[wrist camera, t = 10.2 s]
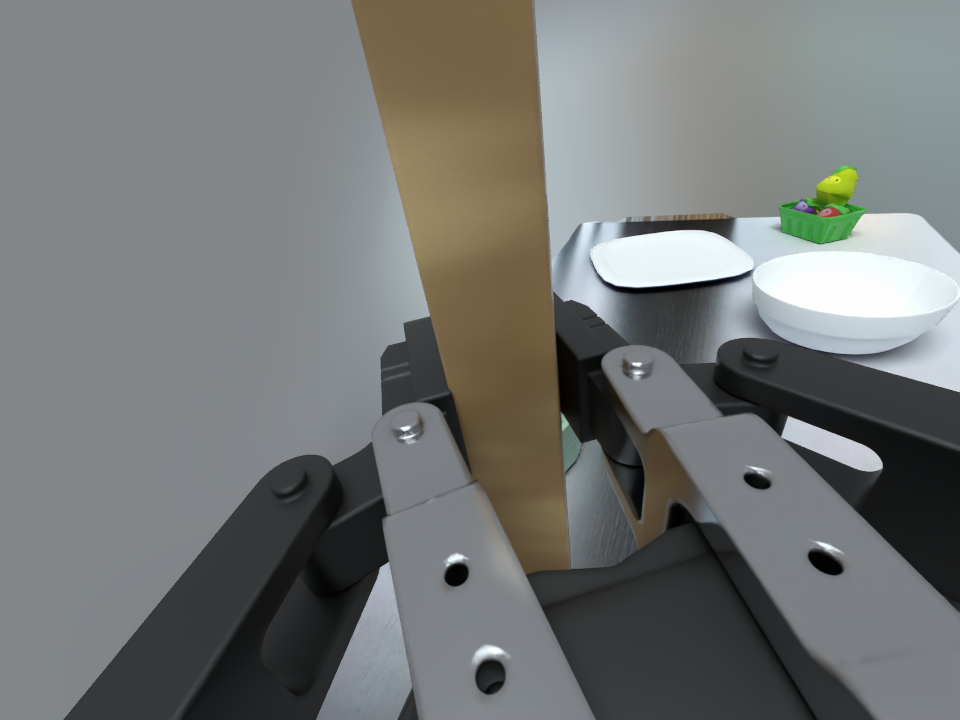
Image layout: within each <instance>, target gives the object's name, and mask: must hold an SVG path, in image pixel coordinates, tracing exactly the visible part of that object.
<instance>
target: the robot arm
mask: <svg viewBox="0 0 960 720" xmlns="http://www.w3.org/2000/svg"><path fill="white" fill-rule="evenodd" d="M553 296H554V311H555V327H556V343H557V358H558V373H559V389H560V404H561V412H562V414H563V415H564V417H565V418H566V420H567V422H568V423H569V425H570V426H571V428H572V430H573V431H574V433H575V434H576V436H577V438H578V439H579V441H580V442H581V443H584V442H588V441H591V440H595V439H597V441H598V442H599V443H600V445H601V462H602V465H603V467H604V469H605V472H606V474H607V476H608V478H609V480H610V483H611V485H612V487H613V489H614V491H615V494H616V496H617V498H618V500H619V503H620V505H621V507H622V509H623V511H624V514H625V516H626V518H627V520H628V522H629V525H630V527H631V529H632V531H633V534H634V537H635V540H636V544H637V550H638V551H636V552H635V553H633V554H632V555H631V556H629V557H628V558H626V559H625V560H623V561H622V562H620V563H619V564H617V565H615V566H612V567H606V568H586V569H565V570H545V571H536V572H533V573H530V574H527V575H525V573H524V571H523V569H522V567H521V565H520V563H519V560H518V558H517V556H516V554H515V552H514V550H513V548H512V546H511V544H510V542H509V540H508V538H507V536H506V534H505V532H504V529H503V527H502V525H501V523H500V521H499V519H498V517H497V515H496V513H495V511H494V509H493V507H492V505H491V503H490V501H489V499H488V496H487V494H486V492H485V490H484V488H483V487H482V485H481V483H480V482H479V480H478V479H476V480H473V478H472V476H471V475H472V472H471V468H470V464H469V460H468V456H467V452H466V448H465V444H464V440H463V436H462V432H461V428H460V424H459V420H458V416H457V412H456V408H455V404H454V400H453V396H452V392H451V390H449V388H448V384H447V380H446V376H445V372H444V369H443V365H442V361H441V357H440V353H439V349H438V345H437V341H436V337H435V333H434V329H433V325H432V321H431V317H426V318H422V319H418V320H414V321H410V322H406V323H404V330H405V337H406V341H405V342H401V343H397V344H393V345H389V346H388V347H387V348H386V350H385V352H384V353H383V355H382V357H381V371H382V372H381V380H382V382H381V388H382V417H381V418H380V419H379V420H378V421H377V422H376V424H375V425H374V427H373V430H372V434H371V439H372V442H371V443H370V444H369V445H367V446H366V447H365V448H364V449H363V450H361V451H359V452H358V453H356V454H354V455H353V456H351V457H349V458H347V459H345V460H343V461H341V462H339V463H337V464H335V465H333V466H332V465H331V463H330V462H329V461H328V460H327V459H326V458H324V457H322V456H319V455H303V456H299V457H295V458H293V459H290V460H287V461H285V462H283V463H281V464H280V465H278V466H276V467H275V468H273V469H272V470H271V471H269V472H268V473H267V474H266V475H265V476H264V477H263V478H262V479H261V480H260V481H259V482H258V483H257V485H256V486H255V487H254V488H253V489H252V491H251V492H250V493H249V494H248V495H247V497H246V498H245V499H244V500H243V502H242V503H241V504H240V505H239V506H238V508H237V509H236V510H235V511H234V513H233V514H232V515H231V516H230V518H229V519H228V520H227V521H226V522H225V524H224V525H223V526H222V527H221V529H220V530H219V531H218V532H217V533H216V534H215V536H214V537H213V538H212V539H211V541H210V542H209V543H208V544H207V546H206V547H205V548H204V549H203V550H202V552H201V553H200V554H199V555H198V556H197V558H196V559H195V560H194V561H193V563H192V564H191V565H190V566H189V568H188V569H187V570H186V571H185V572H184V573H183V575H182V576H181V577H180V579H179V580H178V581H177V582H176V583H175V584H174V586H173V587H172V588H171V589H170V591H169V592H168V593H167V594H166V595H165V597H164V598H163V599H162V600H161V601H160V603H159V604H158V605H157V607H156V608H155V609H154V610H153V611H152V613H151V614H150V615H149V616H148V617H147V619H146V620H145V621H144V622H143V623H142V625H141V626H140V627H139V628H138V630H137V631H136V632H135V633H134V635H133V636H132V637H131V638H130V639H129V641H128V642H127V643H126V644H125V645H124V647H123V648H122V649H121V650H120V651H119V653H118V654H117V655H116V656H115V658H114V659H113V660H112V661H111V663H110V664H109V665H108V666H107V668H106V669H105V670H104V671H103V672H102V673H101V675H100V676H99V677H98V678H97V679H96V681H95V682H94V683H93V684H92V686H91V687H90V688H89V689H88V691H87V692H86V693H85V694H84V695H83V697H82V698H81V699H80V700H79V701H78V703H77V704H76V705H75V706H74V708H73V709H72V710H71V711H70V712H69V714H68V715H67V716H66V717H65V718H64V720H316V718H317V715H318V713H319V711H320V709H321V706H322V704H323V702H324V699H325V697H326V695H327V692H328V690H329V688H330V685H331V683H332V681H333V679H334V676H335V674H336V672H337V669H338V667H339V665H340V662H341V660H342V658H343V655H344V653H345V651H346V649H347V646H348V644H349V642H350V639H351V637H352V635H353V632H354V630H355V628H356V625H357V623H358V621H359V619H360V616H361V614H362V612H363V609H364V607H365V605H366V602H367V600H368V598H369V596H370V593H371V591H372V589H373V586H374V584H375V582H376V579H377V577H378V574H379V569H380V567H381V566H383V565H385V564H386V563H388V562H389V563H390V569H391V574H392V579H393V585H394V590H395V595H396V601H397V606H398V611H399V617H400V622H401V627H402V633H403V638H404V643H405V649H406V654H407V659H408V665H409V670H410V675H411V681H412V686H413V687H412V689H411V691H410V693H409V695H408V697H407V700H406V702H405V704H404V706H403V709H402V711H401V713H400V715H399V717H398V720H960V392H956V391H953V390H949V389H945V388H942V387H938V386H935V385H931V384H927V383H924V382H920V381H917V380H913V379H909V378H906V377H902V376H898V375H895V374H891V373H888V372H884V371H880V370H877V369H873V368H870V367H866V366H862V365H859V364H855V363H852V362H848V361H844V360H841V359H837V358H834V357H830V356H826V355H823V354H819V353H816V352H812V351H808V350H805V349H801V348H798V347H794V346H790V345H787V344H783V343H779V342H776V341H772V340H767V339H761V338H740V339H734V340H731V341H728V342H726V343H724V344H723V345H721V346H720V348H719V349H718V352H717V358H716V363H701V364H677V363H676V362H675V361H674V360H673V358H672V357H671V356H669V355H668V354H667V353H665V352H664V351H661V350H659V349H656V348H653V347H649V346H642V345H630V344H629V343H627V342H626V341H625V340H624V339H623V338H622V337H621V336H620V335H619V334H618V333H616V332H615V331H614V330H613V329H612V328H611V327H610V326H609V325H608V324H605V322H604V321H603V320H602V319H601V318H600V317H597V314H596V313H595V312H593V311H592V310H591V309H590V308H589V307H588V306H586V305H584V304H581V303H578V302H575V301H573V300H570V301H566V302H563V301H562V300H561V299H560V298H559V297H558V296H557V295H556V294H555V293H554V292H553ZM788 416H790V417H793V418H795V419H798V420H801V421H803V422H806V423H808V424H811V425H814V426H816V427H819V428H821V429H824V430H827V431H829V432H832V433H835V434H837V435H840V436H842V437H845V438H848V439H850V440H853V441H855V442H858V443H861V444H863V445H865V446H867V447H869V448H870V449H872V450H873V451H874V452H875V453H876V454H877V455H878V456H879V457H880V459H881V461H882V463H883V468H882V469H881V470H879V471H874V472H866V471H861V470H857V469H854V468H852V467H850V466H847V465H845V464H842V463H840V462H838V461H835V460H833V459H831V458H828V457H826V456H823V455H821V454H819V453H816V452H814V451H812V450H809V449H807V448H804V447H802V446H800V445H797V444H795V443H793V442H790V441H788V440H785V439H783V438H781V436H782V433H783V430H784V427H785V424H786V421H787V418H788ZM941 594H942V595H944V596H946V597H947V598H946V597H944V596H942V595H941ZM948 598H949V599H948Z"/></svg>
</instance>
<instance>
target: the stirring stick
mask: <svg viewBox="0 0 960 720" xmlns="http://www.w3.org/2000/svg"><path fill="white" fill-rule="evenodd" d="M351 3H352V7H353V11H354V15H355V18H356V23H357V27H358V31H359V35H360V39H361V43H362V47H363V51H364V55H365V59H366V62H367V67H368V71H369V75H370V79H371V82H372V86H373V90H374V94H375V98H376V102H377V106H378V110H379V114H380V118H381V122H382V126H383V130H384V134H385V138H386V142H387V146H388V150H389V154H390V158H391V162H392V166H393V170H394V173H395V177H396V182H397V186H398V190H399V194H400V198H401V202H402V206H403V209H404V214H405V218H406V221H407V226H408V229H409V233H410V237H411V241H412V245H413V249H414V253H415V257H416V261H417V265H418V269H419V273H420V277H421V281H422V285H423V289H424V293H425V297H426V301H427V304H428V309H429V313H430V317H431V321H432V325H433V329H434V333H435V337H436V341H437V345H438V349H439V353H440V357H441V361H442V365H443V369H444V372H445V376H446V380H447V384H448V388H449V390H451V392H452V396H453V400H454V404H455V408H456V412H457V416H458V420H459V424H460V428H461V432H462V436H463V440H464V444H465V448H466V452H467V456H468V460H469V464H470V468H471V472H472V475H471V476H472V478H473V480H476V479H478V480H479V482H480V483H481V485H482V487H483V488H484V490H485V492H486V494H487V496H488V499H489V501H490V503H491V505H492V507H493V509H494V511H495V513H496V515H497V517H498V519H499V521H500V523H501V525H502V527H503V529H504V532H505V534H506V536H507V538H508V540H509V542H510V544H511V546H512V548H513V550H514V552H515V554H516V556H517V558H518V560H519V563H520V565H521V567H522V569H523V571H524V573H525V575H527V574H530V573H533V572H536V571H545V570H565V569H571V557H570V542H569V526H568V511H567V496H566V480H565V465H564V450H563V434H562V419H561V404H560V389H559V373H558V358H557V343H556V327H555V311H554V296H553V281H552V265H551V250H550V235H549V220H548V204H547V189H546V174H545V158H544V142H543V128H542V112H541V97H540V82H539V67H538V52H537V36H536V20H535V5H534V0H351Z"/></svg>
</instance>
